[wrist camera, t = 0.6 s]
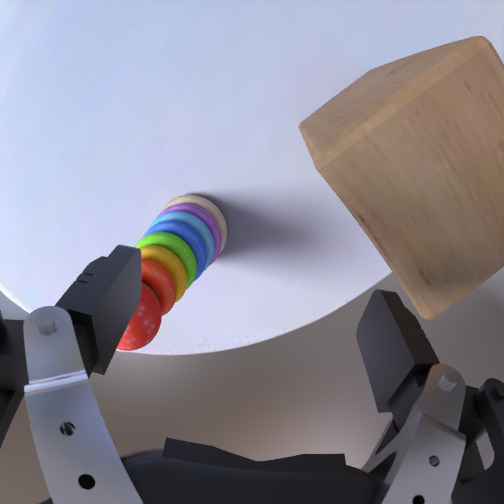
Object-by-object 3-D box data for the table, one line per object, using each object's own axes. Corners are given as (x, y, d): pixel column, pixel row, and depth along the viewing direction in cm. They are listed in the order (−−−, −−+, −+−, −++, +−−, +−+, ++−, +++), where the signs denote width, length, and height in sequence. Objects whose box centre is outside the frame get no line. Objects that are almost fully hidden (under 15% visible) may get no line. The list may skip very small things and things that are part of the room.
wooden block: (372, 68, 25) (487, 30, 7) (428, 147, 27) (561, 216, 10) (296, 126, 29) (308, 161, 11) (357, 201, 31) (426, 327, 13)
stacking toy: (224, 190, 32) (155, 289, 16) (232, 258, 36) (187, 388, 19) (155, 195, 33) (50, 285, 17) (168, 259, 37) (92, 373, 20)
